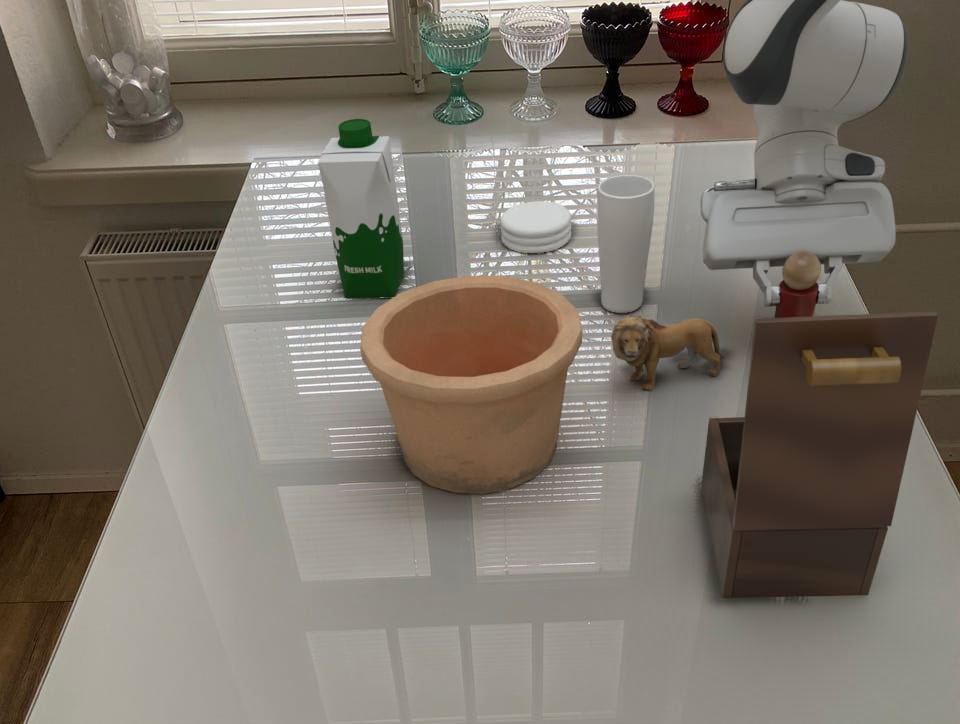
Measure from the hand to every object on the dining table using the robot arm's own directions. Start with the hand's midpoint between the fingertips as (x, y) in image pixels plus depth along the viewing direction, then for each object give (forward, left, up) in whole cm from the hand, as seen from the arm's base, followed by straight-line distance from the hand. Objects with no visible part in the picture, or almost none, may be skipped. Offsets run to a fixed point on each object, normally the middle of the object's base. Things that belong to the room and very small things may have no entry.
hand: (797, 304), depth 109 cm
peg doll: (0, -1, -5) cm, 5 cm away
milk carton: (+51, -24, -8) cm, 57 cm away
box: (+6, +31, -8) cm, 33 cm away
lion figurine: (+14, +2, -8) cm, 16 cm away
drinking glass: (+18, -16, -8) cm, 25 cm away
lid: (+6, +38, +10) cm, 40 cm away
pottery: (+35, +14, -8) cm, 39 cm away
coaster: (+29, -36, -8) cm, 47 cm away
